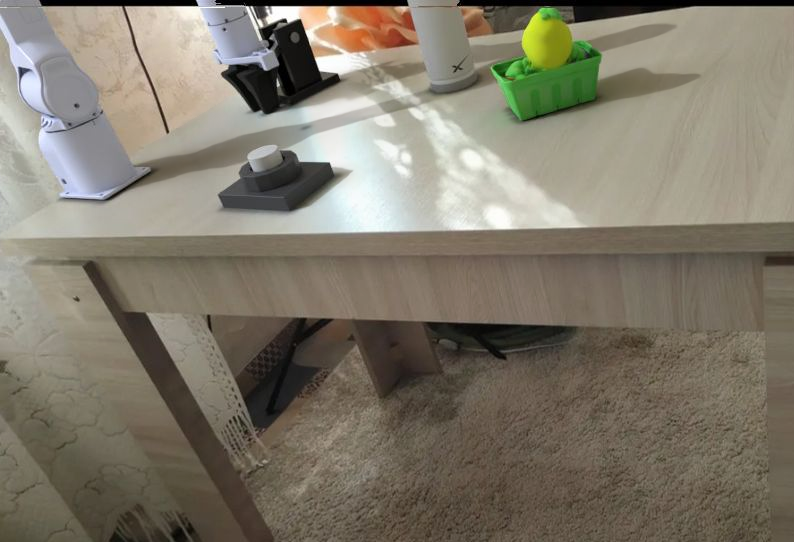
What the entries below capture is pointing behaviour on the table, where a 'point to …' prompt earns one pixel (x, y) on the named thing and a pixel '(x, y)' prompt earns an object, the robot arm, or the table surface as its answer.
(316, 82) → the black lever base
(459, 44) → the travel mug
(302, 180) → the push button base
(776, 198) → the table surface
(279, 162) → the white push button
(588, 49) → the fruit basket
